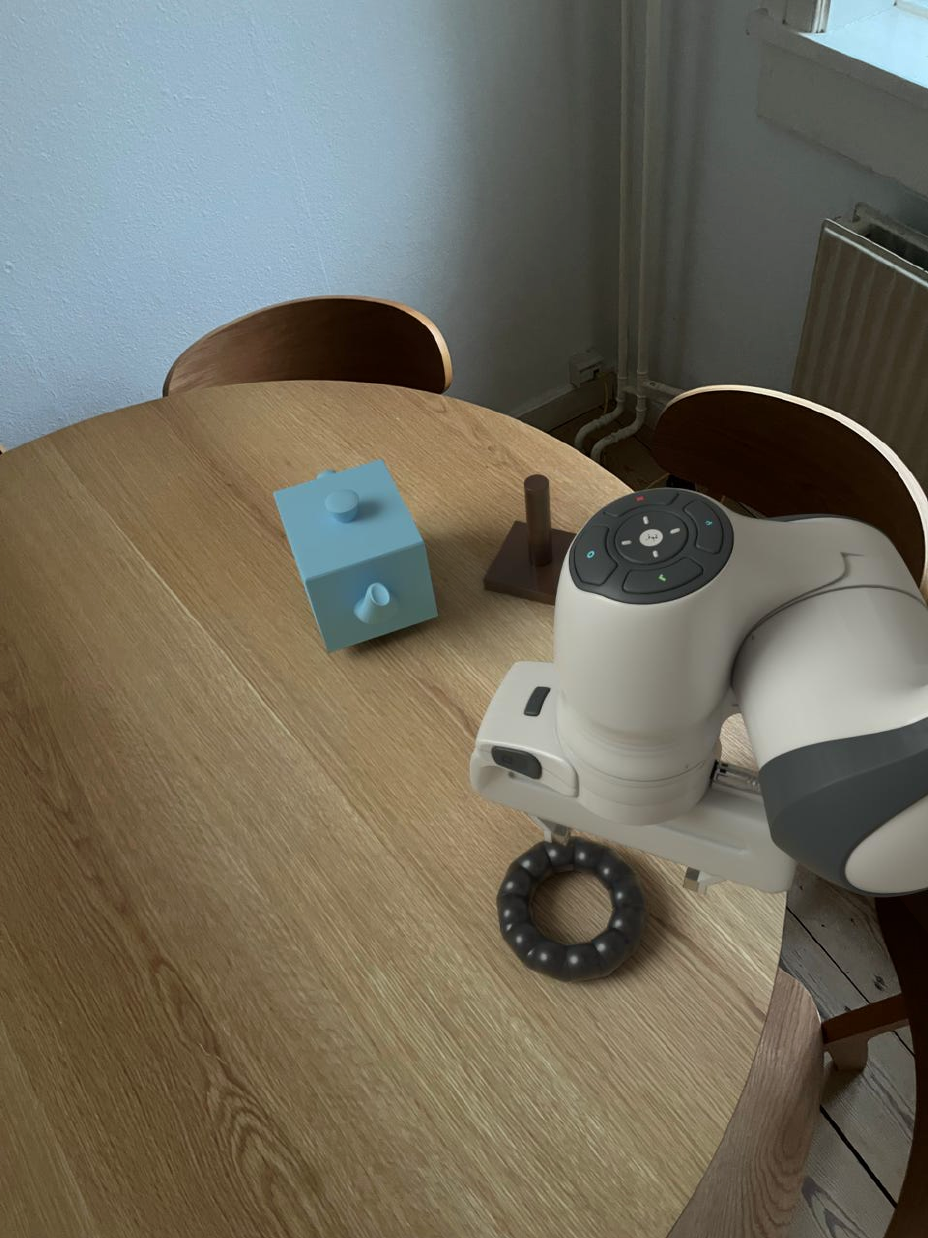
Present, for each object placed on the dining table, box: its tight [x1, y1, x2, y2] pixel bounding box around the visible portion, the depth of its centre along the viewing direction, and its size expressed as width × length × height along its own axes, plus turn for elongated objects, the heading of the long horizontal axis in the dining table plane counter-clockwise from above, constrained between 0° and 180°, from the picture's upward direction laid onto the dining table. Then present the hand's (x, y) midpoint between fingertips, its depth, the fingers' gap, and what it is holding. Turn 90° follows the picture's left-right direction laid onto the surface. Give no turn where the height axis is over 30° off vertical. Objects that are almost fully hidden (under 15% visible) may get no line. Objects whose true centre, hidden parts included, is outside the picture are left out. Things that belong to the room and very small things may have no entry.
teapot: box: [272, 458, 439, 654], centre depth 92 cm, size 22×11×14 cm, turn 20°
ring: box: [495, 835, 650, 984], centre depth 73 cm, size 11×11×3 cm
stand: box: [482, 473, 578, 607], centre depth 94 cm, size 9×9×12 cm
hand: (626, 858), depth 64 cm, fingers open, 8 cm apart
